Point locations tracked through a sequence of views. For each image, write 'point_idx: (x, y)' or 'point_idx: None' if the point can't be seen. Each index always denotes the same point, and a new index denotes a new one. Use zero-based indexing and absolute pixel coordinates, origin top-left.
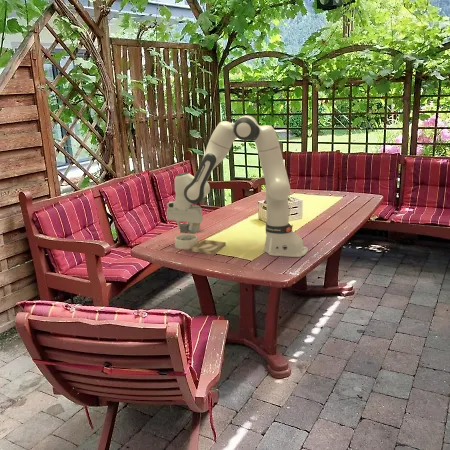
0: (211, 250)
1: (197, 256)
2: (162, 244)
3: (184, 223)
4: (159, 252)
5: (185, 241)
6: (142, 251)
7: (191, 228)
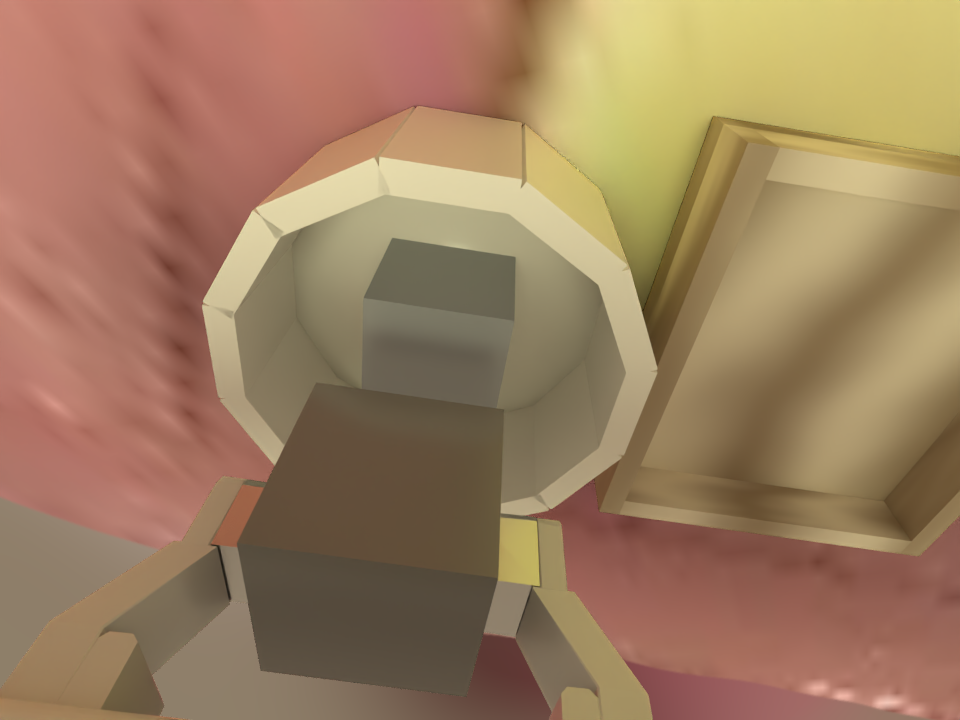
0: (890, 550)
1: None
2: (41, 250)
3: (274, 555)
4: None
5: None
6: (55, 489)
7: (562, 542)
